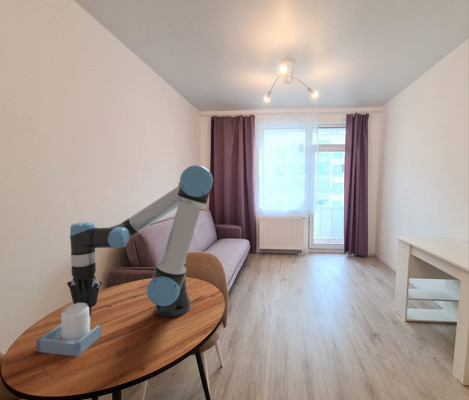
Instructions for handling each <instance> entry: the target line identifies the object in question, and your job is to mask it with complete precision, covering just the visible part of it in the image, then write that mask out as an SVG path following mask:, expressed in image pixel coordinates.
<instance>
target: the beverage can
mask: <svg viewBox="0 0 469 400" xmlns="http://www.w3.org/2000/svg"><path fill="white" fill-rule="evenodd" d="M60 319H61V320H60V321H61V322H60V325H61V327H62V337H61V340H67V341H76V342H77V341H78V340H80V339H81V338H82V337H83V336H85V335H86V334H87V333H89V332H90V331H91V316H89V306H87V303H76V304H73V303H72V304H70V305H68V306H66V307H64V308H63V309H62V312H61V313H60Z"/></svg>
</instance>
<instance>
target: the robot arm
mask: <svg viewBox="0 0 469 400" xmlns="http://www.w3.org/2000/svg"><path fill="white" fill-rule="evenodd" d="M213 184H214V177H213V175H212V173H211V171H210V170H209V168H207V167H206V166H203V165H199V164H195V165H193V164H192V165H191V166H188V167H187V168H185V169H184V170H183V171H182V173H181V175H180V179H179V182H178V184H177V187H175V188H173V189H172V190H170V191H169V192H167V193H165V194H164V195H162V196H161V197H160V198H158V199H157V200H155V201H153V202H152V203H150V204H148V205H147V206H146V207H144V208H142V209H141V210H139V211H138V212H136V213H135V214H133V215H132V216H130V217H129V218H127V219H126V220H124V221H123V222H121V223H119V224H117V225H113V226H110V227H96V225H95V223H94V222H92V221H87V222H86V221H85V222H83V221H81V222H76V223H73V224H71V225H70V229H69V230H70V231H69V232H70V235H69V239H70V240H69V241H70V263H71V264H70V265H71V276H72V279H71V280H70V281H67V283H66V284H67V286H68V288H69V292H70V296H71V299H72V305H73V304H76V303H87V306H89V316H90V317H91V316H92V308H93V307H95V306H97V302H98V298H99V297H98V296H99V291H100V287H101V285H102V284H103V283H102V281H98V280H96V276H95V274H96V270H97V266H96V262H95V261H96V249H110V248H113V249H118V248H124V247H126V246H127V245H128V243H130V242H129V241H130V239H132V238H133V237H135V236H136V235H137V234H139V233H140V232H142V231H143V230H145V229H146V228H147V227H149V226H151V225H152V224H154V223H155V222H157V221H159V220H161V218H163V217H165V216H166V215H168V214H169V213H170V212H173V211H174V210H176V212H175V215H174V218H173V222H172V225H171V229H170V232H169V234H168V235H169V236H168V239H167V242H166V246H165V250H164V251H163V252H164V253H163V256H162V258H160V259H159V260H158V262H156V265H155V268H154V271H153V275H152V277H151V280H150V281H148V282H149V283H147V288H146V296H147V298H148V299H149V301H150V302H151V303H153V304H154V305H155V313H156V315H158V316H159V317H163V318H175V317H178V316H181V315H183V314H186V313H187V312H188V311H190V309H191V299H190V296H189V293H188V291H187V267H186V266H187V262H186V260H187V255H188V252H189V249H190V247H191V243H192V238H193V236H194V232H195V228H196V226H197V222H198V219H199V216H200V213H201V210H202V207H204V206H206V205H207V202H208V200H209V196H210V193H211V190H212V188H213Z"/></svg>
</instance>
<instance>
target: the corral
mask: <svg viewBox="0 0 469 400" xmlns="http://www.w3.org/2000/svg"><path fill="white" fill-rule="evenodd" d="M101 328H102V327H101V325H98V324H97V325H96V326H95V327H94V328H93V329H90V332H89V333H87V334H86V335H85V336H83V337H82V338H81V339H80V340H78V341H77V342H76V341H67V340H62V327H61V324H59V325H57V326H56V327H55V328H53V329H51V330H50V331H48V332H46V333H45V334H44V335H42V336H40V337H39V338H37V339H36V340H35V341H36V342H35V343H36V352H37V353H47V354H52V355H53V354H54V355H62V356H71V357H77V358H78V357H79V356H80V355H81V354H82V353H83V352H85V351H86V350H87V349H88V348H89V347H91V346H92V345H93V344H94V343H95V342H96V341H97V340H99V339H100V338H101V337H102V330H101Z"/></svg>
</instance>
